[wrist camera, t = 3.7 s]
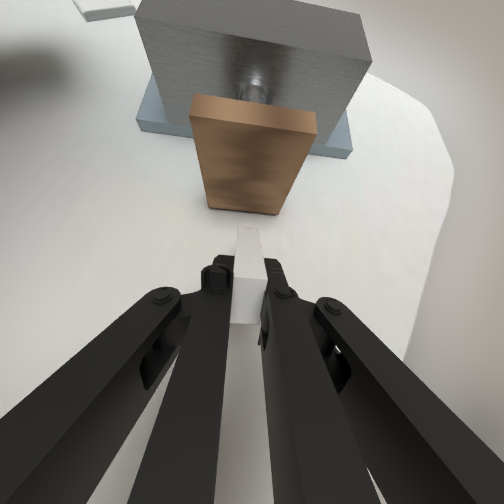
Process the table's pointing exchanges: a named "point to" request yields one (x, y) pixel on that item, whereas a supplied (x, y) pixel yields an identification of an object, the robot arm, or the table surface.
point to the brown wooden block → (249, 149)
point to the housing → (252, 61)
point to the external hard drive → (104, 9)
